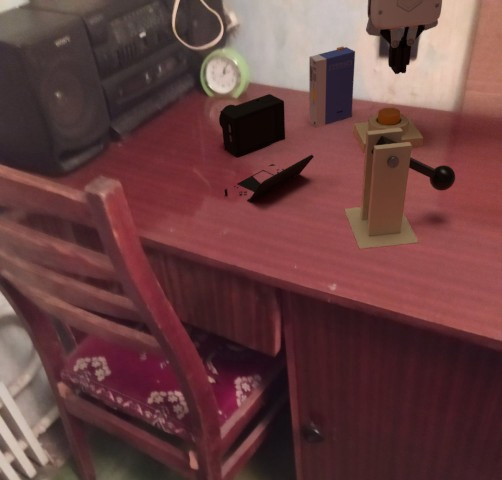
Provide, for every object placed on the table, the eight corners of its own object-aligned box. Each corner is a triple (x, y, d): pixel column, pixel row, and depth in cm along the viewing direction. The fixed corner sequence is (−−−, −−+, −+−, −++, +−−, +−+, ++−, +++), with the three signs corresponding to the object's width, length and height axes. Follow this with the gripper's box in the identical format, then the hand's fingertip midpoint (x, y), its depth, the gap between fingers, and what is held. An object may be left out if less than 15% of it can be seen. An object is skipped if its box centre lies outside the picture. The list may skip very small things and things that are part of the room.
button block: (408, 126, 104) (411, 107, 102) (422, 147, 99) (425, 127, 96) (353, 132, 104) (354, 113, 102) (363, 153, 98) (364, 133, 96)
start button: (396, 116, 100) (397, 106, 99) (401, 125, 98) (403, 115, 97) (375, 118, 100) (376, 108, 99) (380, 127, 98) (381, 117, 97)
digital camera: (267, 129, 107) (266, 90, 103) (285, 139, 104) (284, 100, 99) (220, 147, 104) (216, 108, 99) (237, 157, 100) (233, 118, 95)
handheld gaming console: (261, 156, 96) (286, 120, 87) (292, 187, 97) (320, 155, 88) (218, 196, 91) (240, 163, 82) (251, 229, 92) (277, 199, 83)
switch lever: (440, 186, 79) (455, 166, 78) (447, 198, 77) (463, 178, 75) (368, 152, 75) (382, 130, 73) (374, 164, 73) (389, 142, 71)
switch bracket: (398, 209, 85) (409, 117, 76) (418, 249, 78) (433, 153, 69) (343, 215, 85) (348, 124, 76) (358, 255, 78) (365, 160, 69)
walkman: (343, 112, 110) (346, 44, 102) (351, 117, 109) (355, 49, 100) (307, 122, 108) (307, 54, 100) (315, 128, 106) (316, 59, 98)
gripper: (361, -55, 78) (356, 85, 90) (472, -69, 78) (452, 73, 90) (349, -65, 83) (346, 68, 96) (453, -79, 83) (437, 56, 96)
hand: (398, 70), depth 93 cm, fingers closed
